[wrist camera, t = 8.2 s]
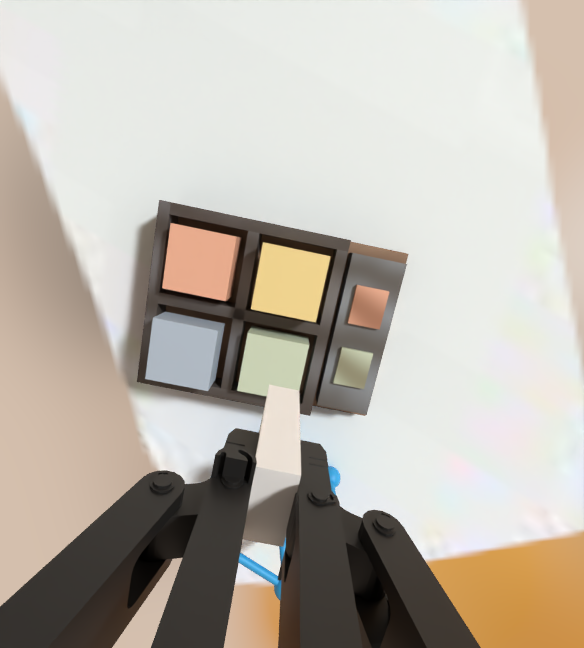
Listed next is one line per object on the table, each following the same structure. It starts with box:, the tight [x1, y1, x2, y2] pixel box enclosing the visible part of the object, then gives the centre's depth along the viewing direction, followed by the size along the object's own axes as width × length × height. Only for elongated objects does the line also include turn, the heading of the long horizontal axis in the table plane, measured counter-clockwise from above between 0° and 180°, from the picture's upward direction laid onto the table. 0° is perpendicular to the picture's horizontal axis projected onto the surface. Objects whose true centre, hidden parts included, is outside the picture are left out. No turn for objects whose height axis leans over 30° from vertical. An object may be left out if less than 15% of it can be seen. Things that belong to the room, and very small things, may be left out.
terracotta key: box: [162, 223, 242, 301], centre depth 32 cm, size 6×6×3 cm
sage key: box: [237, 326, 309, 396], centre depth 34 cm, size 6×6×3 cm
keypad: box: [137, 200, 408, 416], centre depth 35 cm, size 17×23×4 cm
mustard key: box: [251, 242, 331, 322], centre depth 31 cm, size 6×6×3 cm
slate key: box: [145, 312, 225, 391], centre depth 33 cm, size 6×6×3 cm
